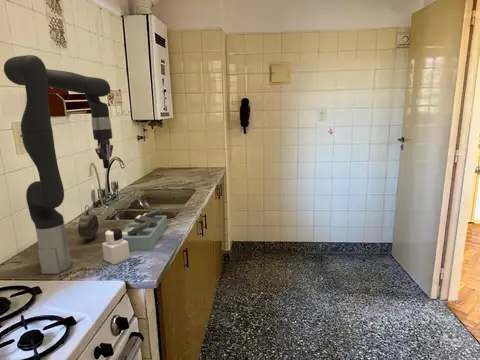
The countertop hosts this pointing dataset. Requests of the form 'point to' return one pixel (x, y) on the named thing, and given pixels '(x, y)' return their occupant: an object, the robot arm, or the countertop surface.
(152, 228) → the switch box
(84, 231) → the alarm clock
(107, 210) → the countertop surface
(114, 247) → the medicine bottle
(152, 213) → the switch
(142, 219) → the switch
